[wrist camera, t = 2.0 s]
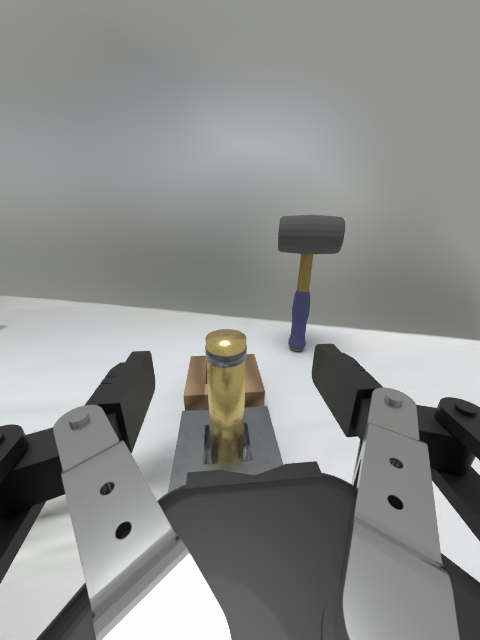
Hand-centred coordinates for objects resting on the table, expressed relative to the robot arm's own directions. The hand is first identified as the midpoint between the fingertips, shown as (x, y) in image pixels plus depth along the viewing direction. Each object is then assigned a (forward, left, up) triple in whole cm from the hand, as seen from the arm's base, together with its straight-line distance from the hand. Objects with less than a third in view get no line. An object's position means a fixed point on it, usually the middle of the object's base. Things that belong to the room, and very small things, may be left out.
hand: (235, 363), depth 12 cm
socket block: (0, +11, -22) cm, 25 cm away
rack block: (0, +24, -22) cm, 33 cm away
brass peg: (0, +11, -22) cm, 25 cm away
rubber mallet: (+18, +40, -22) cm, 49 cm away
